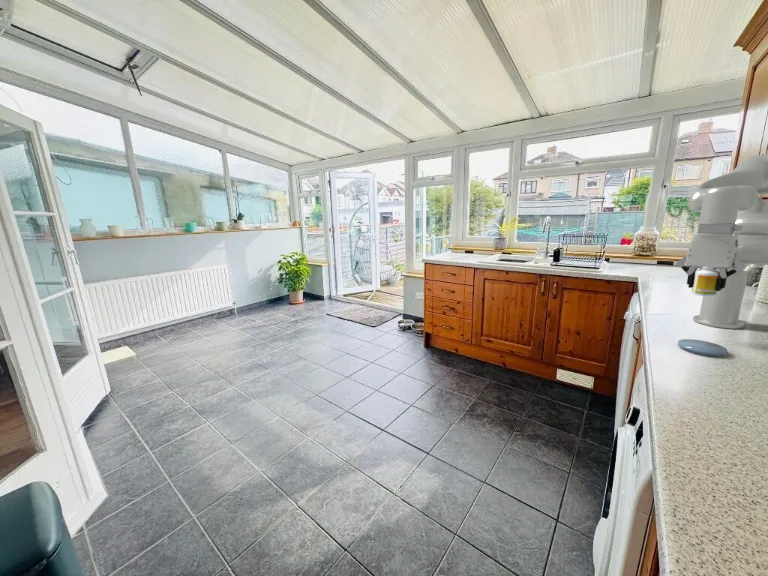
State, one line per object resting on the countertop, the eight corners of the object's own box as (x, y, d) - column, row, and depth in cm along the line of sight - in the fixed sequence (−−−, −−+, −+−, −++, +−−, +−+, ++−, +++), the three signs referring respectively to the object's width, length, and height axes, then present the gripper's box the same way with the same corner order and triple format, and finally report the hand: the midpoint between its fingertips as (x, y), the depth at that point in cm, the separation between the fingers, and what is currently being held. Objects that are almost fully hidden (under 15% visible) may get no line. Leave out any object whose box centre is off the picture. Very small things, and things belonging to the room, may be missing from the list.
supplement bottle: (721, 296, 93) (727, 264, 91) (700, 296, 94) (705, 265, 92) (706, 292, 98) (712, 262, 96) (687, 292, 99) (692, 262, 97)
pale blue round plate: (684, 341, 97) (684, 336, 96) (730, 351, 88) (731, 346, 88) (672, 348, 92) (673, 344, 91) (720, 360, 83) (721, 355, 83)
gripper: (762, 229, 86) (749, 291, 90) (681, 229, 101) (673, 282, 105) (756, 230, 83) (742, 295, 87) (673, 230, 97) (664, 286, 101)
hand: (704, 288), depth 96 cm, fingers closed on supplement bottle, 5 cm apart
